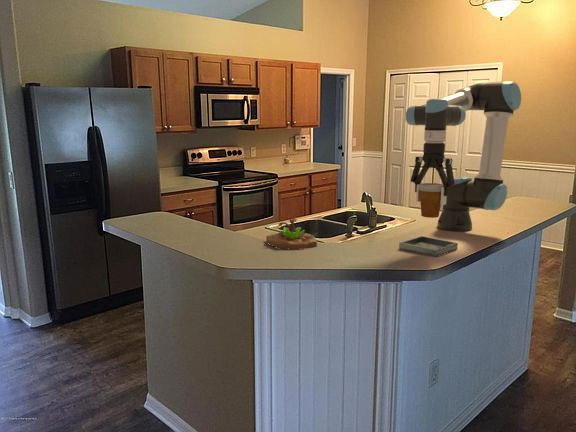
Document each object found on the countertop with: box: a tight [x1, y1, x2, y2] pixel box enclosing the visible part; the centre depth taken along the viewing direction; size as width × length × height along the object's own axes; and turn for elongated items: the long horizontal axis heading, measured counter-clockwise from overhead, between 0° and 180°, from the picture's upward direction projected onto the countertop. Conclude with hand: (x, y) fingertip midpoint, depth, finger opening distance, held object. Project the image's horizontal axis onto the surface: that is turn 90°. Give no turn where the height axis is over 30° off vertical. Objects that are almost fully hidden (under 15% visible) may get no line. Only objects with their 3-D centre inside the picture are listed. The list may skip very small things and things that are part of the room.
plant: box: [266, 216, 318, 250], centre depth 192 cm, size 20×20×11 cm
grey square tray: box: [398, 235, 459, 258], centre depth 183 cm, size 16×16×2 cm
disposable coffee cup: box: [418, 182, 443, 219], centre depth 179 cm, size 10×10×12 cm
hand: (430, 202), depth 180 cm, fingers closed on disposable coffee cup, 9 cm apart
